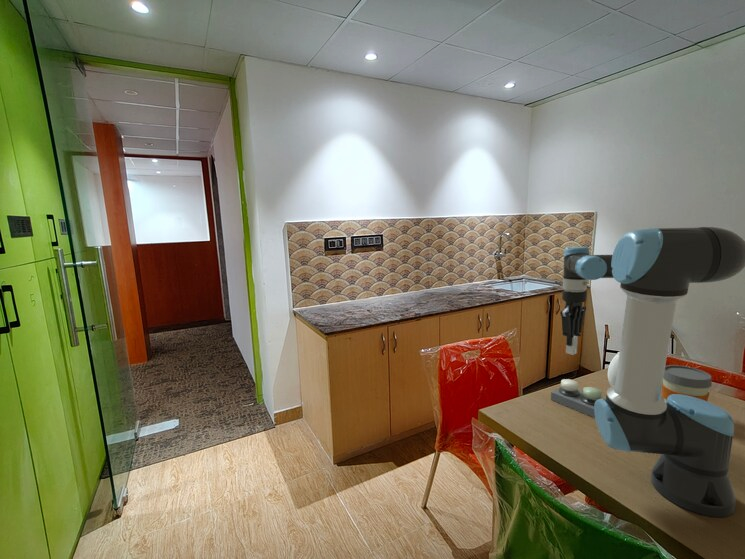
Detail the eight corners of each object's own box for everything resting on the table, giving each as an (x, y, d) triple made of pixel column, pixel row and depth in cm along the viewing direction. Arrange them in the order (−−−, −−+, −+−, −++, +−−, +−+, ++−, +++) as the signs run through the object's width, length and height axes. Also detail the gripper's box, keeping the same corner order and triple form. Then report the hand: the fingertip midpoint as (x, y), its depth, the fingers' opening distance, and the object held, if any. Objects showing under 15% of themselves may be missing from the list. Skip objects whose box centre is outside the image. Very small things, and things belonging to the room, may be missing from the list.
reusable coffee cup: (717, 425, 111) (723, 381, 109) (672, 422, 114) (676, 379, 112) (690, 405, 124) (695, 365, 121) (650, 403, 126) (654, 363, 124)
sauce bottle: (602, 388, 138) (605, 344, 136) (614, 383, 142) (617, 341, 139) (623, 396, 131) (627, 351, 129) (635, 391, 135) (639, 347, 132)
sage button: (596, 401, 119) (597, 395, 119) (579, 395, 124) (580, 389, 124) (604, 396, 122) (605, 391, 122) (588, 390, 127) (588, 385, 126)
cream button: (572, 392, 126) (573, 387, 126) (557, 386, 131) (558, 381, 130) (581, 388, 129) (581, 383, 129) (566, 382, 134) (566, 377, 133)
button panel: (623, 429, 111) (623, 419, 111) (550, 399, 131) (551, 390, 131) (637, 419, 116) (637, 409, 116) (565, 392, 136) (565, 383, 136)
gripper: (574, 294, 117) (571, 360, 121) (595, 289, 125) (591, 351, 128) (553, 291, 124) (550, 354, 127) (574, 286, 131) (571, 346, 134)
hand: (571, 353), depth 128 cm, fingers closed
